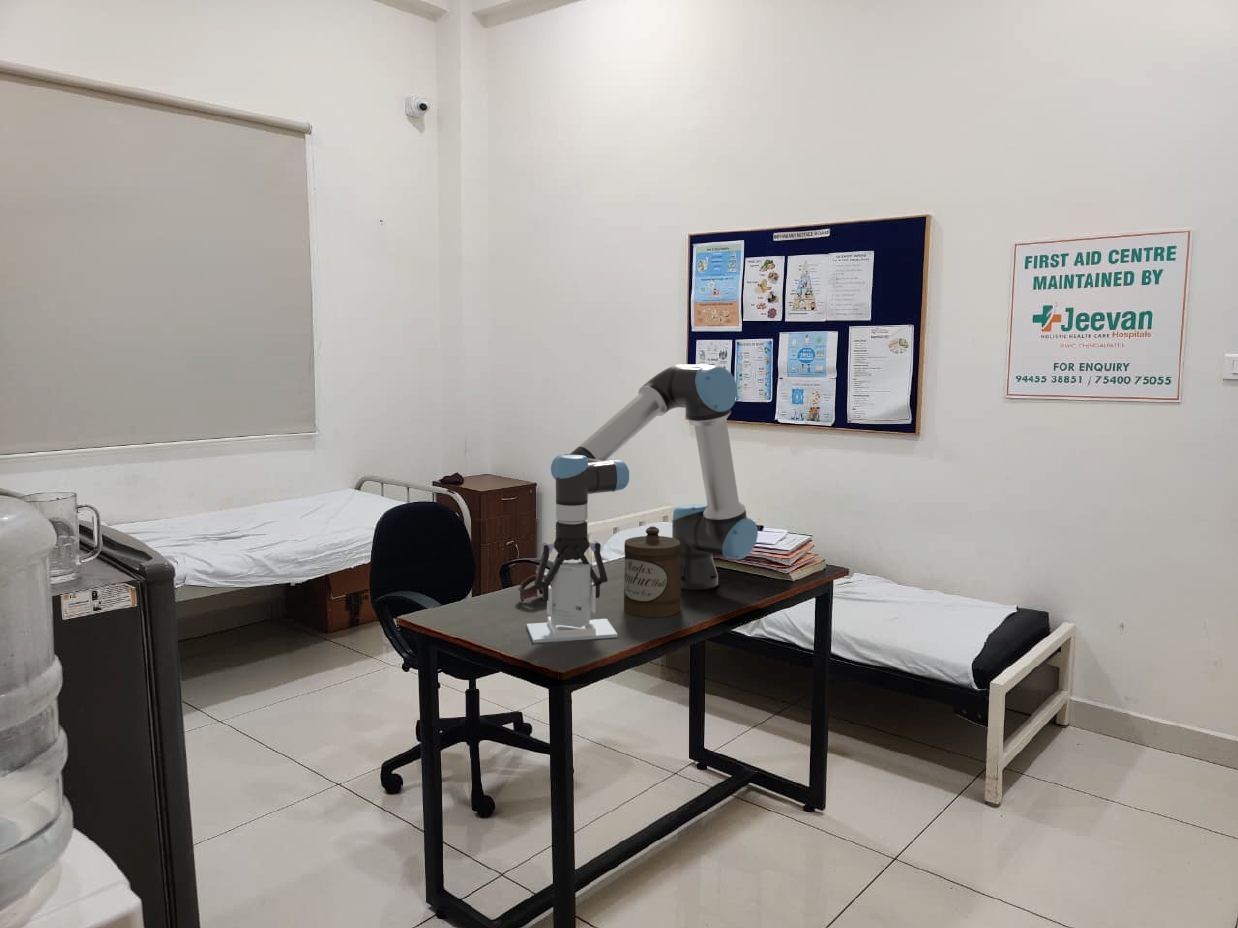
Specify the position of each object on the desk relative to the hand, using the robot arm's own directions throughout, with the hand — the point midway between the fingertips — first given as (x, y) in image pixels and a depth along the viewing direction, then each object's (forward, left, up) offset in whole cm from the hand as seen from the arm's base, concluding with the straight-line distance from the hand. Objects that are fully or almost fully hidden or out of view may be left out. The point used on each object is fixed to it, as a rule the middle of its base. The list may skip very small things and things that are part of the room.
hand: (571, 612), depth 213 cm
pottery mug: (+4, -28, -5) cm, 29 cm away
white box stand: (0, 0, -5) cm, 5 cm away
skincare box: (0, 0, -3) cm, 3 cm away
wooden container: (-24, -14, -5) cm, 28 cm away
